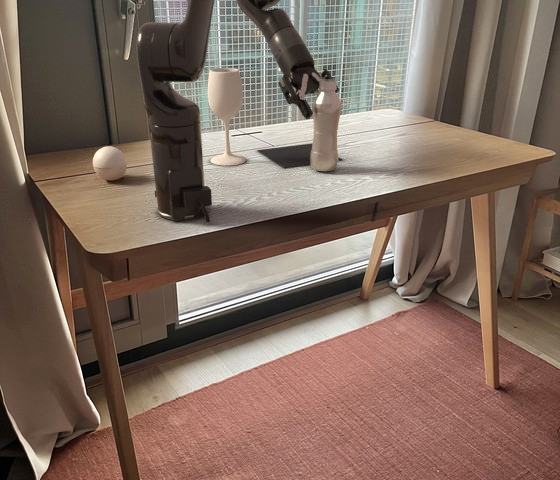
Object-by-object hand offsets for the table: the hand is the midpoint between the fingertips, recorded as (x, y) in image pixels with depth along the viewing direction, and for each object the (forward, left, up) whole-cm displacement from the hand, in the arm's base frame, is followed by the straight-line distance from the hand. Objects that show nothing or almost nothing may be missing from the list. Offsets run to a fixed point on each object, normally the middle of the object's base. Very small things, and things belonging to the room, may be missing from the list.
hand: (323, 114), depth 128 cm
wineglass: (+15, +18, -13) cm, 27 cm away
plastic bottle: (-1, 0, -13) cm, 13 cm away
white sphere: (+12, +48, -13) cm, 51 cm away
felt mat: (+12, 0, -13) cm, 18 cm away
